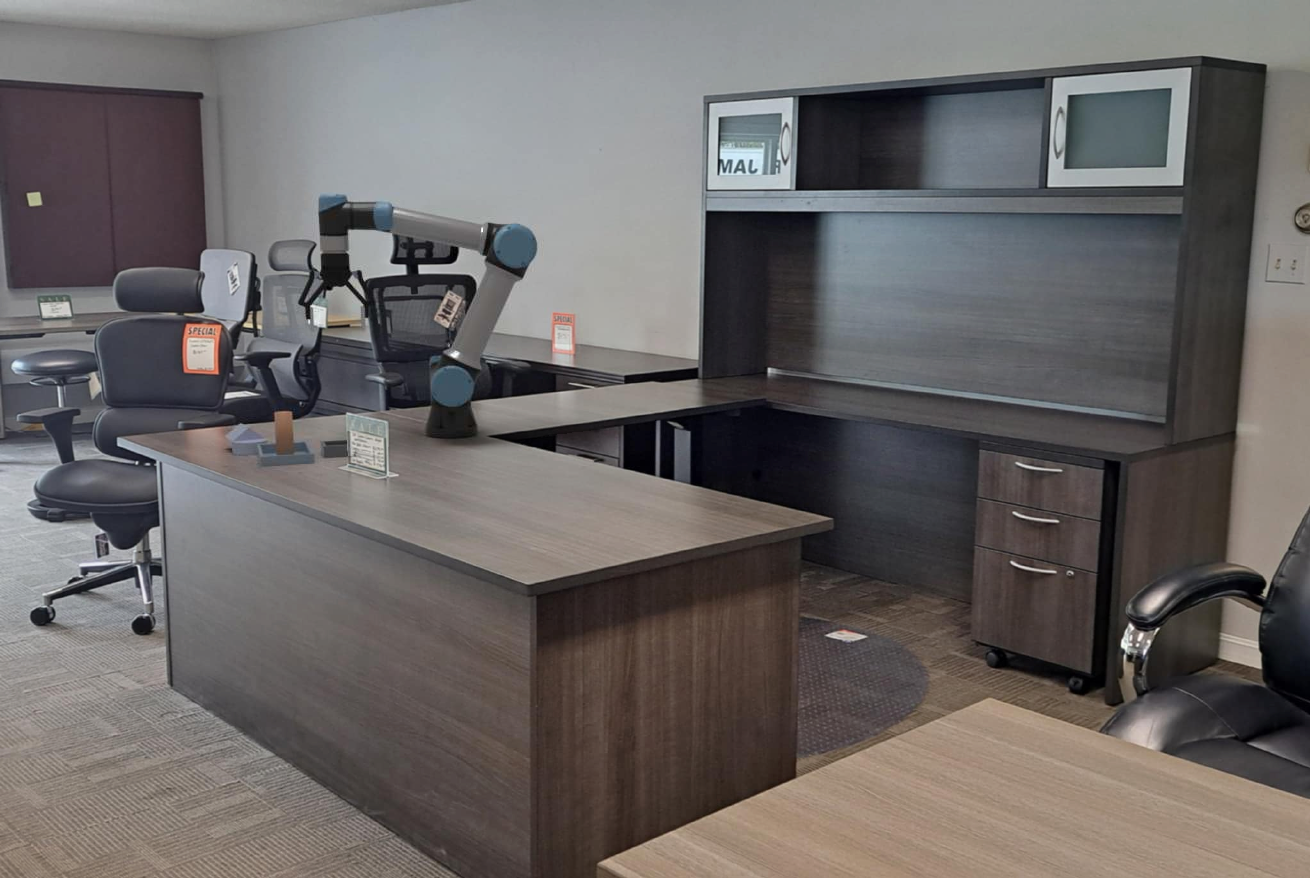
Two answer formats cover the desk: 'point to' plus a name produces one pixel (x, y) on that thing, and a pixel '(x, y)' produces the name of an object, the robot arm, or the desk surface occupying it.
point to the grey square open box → (334, 448)
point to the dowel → (284, 433)
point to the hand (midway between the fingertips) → (338, 331)
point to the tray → (270, 458)
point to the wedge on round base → (245, 440)
